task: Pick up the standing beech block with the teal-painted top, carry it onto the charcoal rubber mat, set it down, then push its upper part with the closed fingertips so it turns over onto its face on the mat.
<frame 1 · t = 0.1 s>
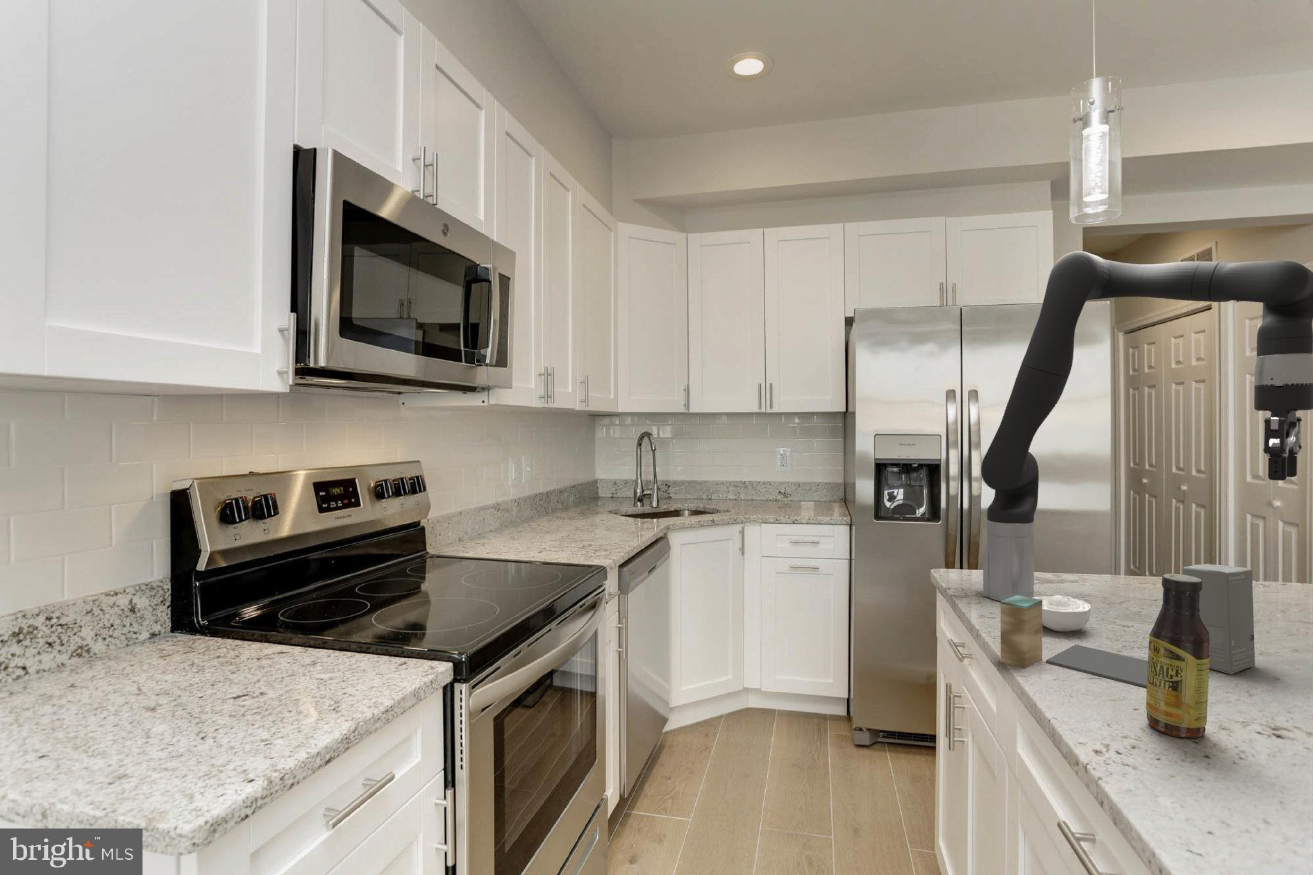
hand: (1282, 478, 116), 29 cm above the countertop, tool pointing down, fingers open, 8 cm apart
block: (1021, 660, 114), on the countertop
skincare box: (1218, 665, 111), on the countertop
mat: (1115, 667, 110), on the countertop
cell model: (1059, 629, 130), on the countertop
sauce bottle: (1176, 731, 88), on the countertop
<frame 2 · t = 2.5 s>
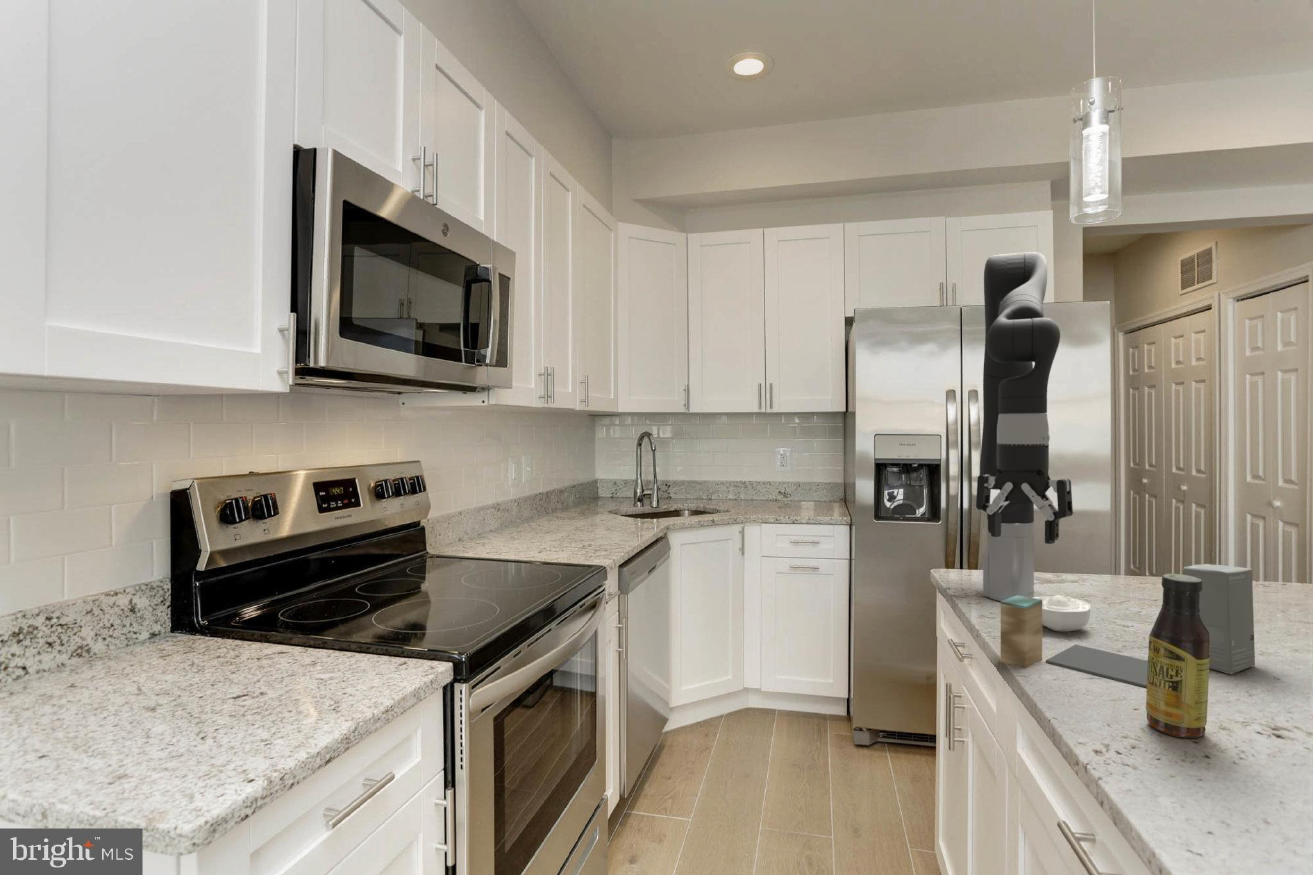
hand: (1022, 539, 113), 20 cm above the countertop, tool pointing down, fingers open, 8 cm apart
nothing on the countertop moved.
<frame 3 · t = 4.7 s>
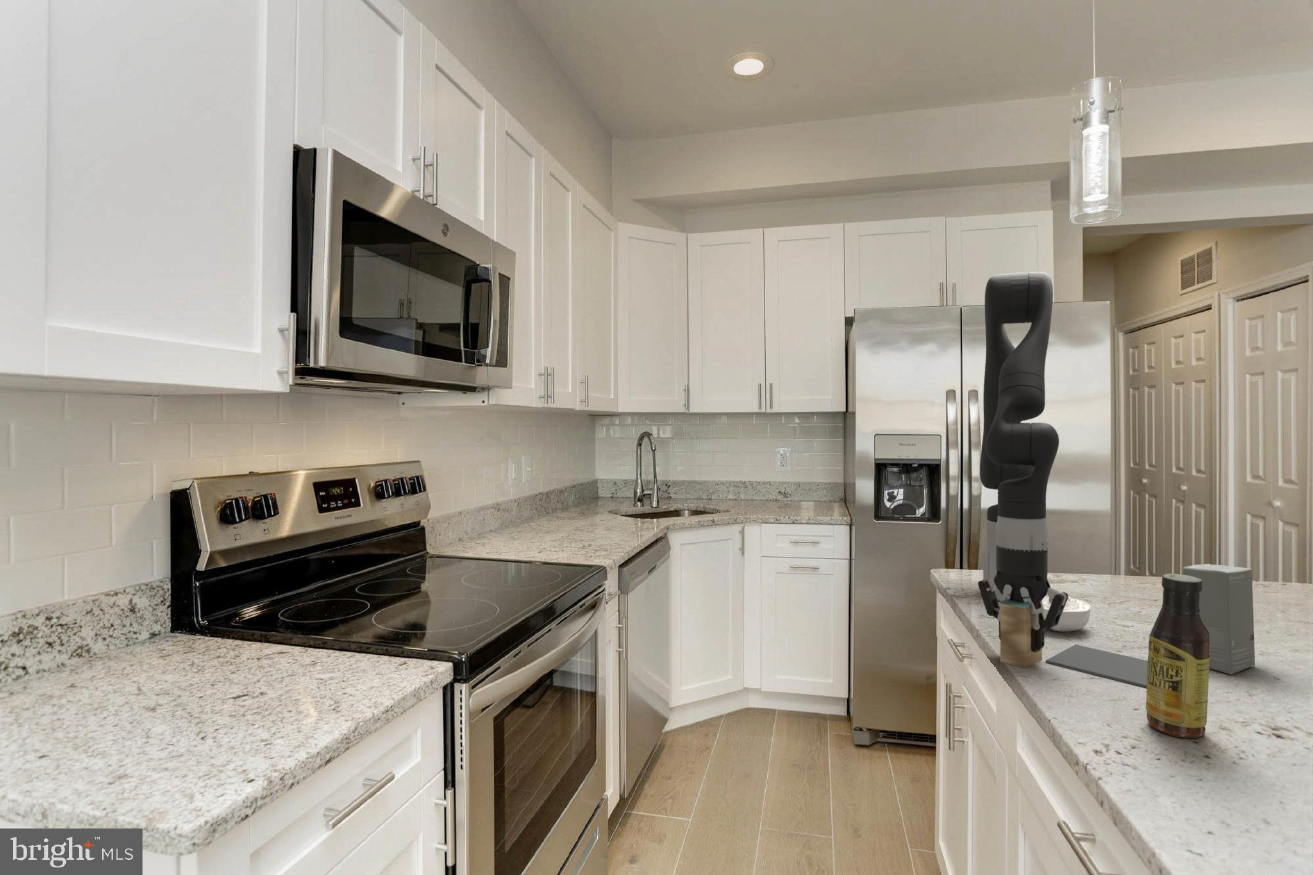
hand: (1021, 646, 114), 2 cm above the countertop, tool pointing down, fingers closed on block, 4 cm apart
block: (1021, 660, 114), on the countertop, touching gripper
everything else where it was.
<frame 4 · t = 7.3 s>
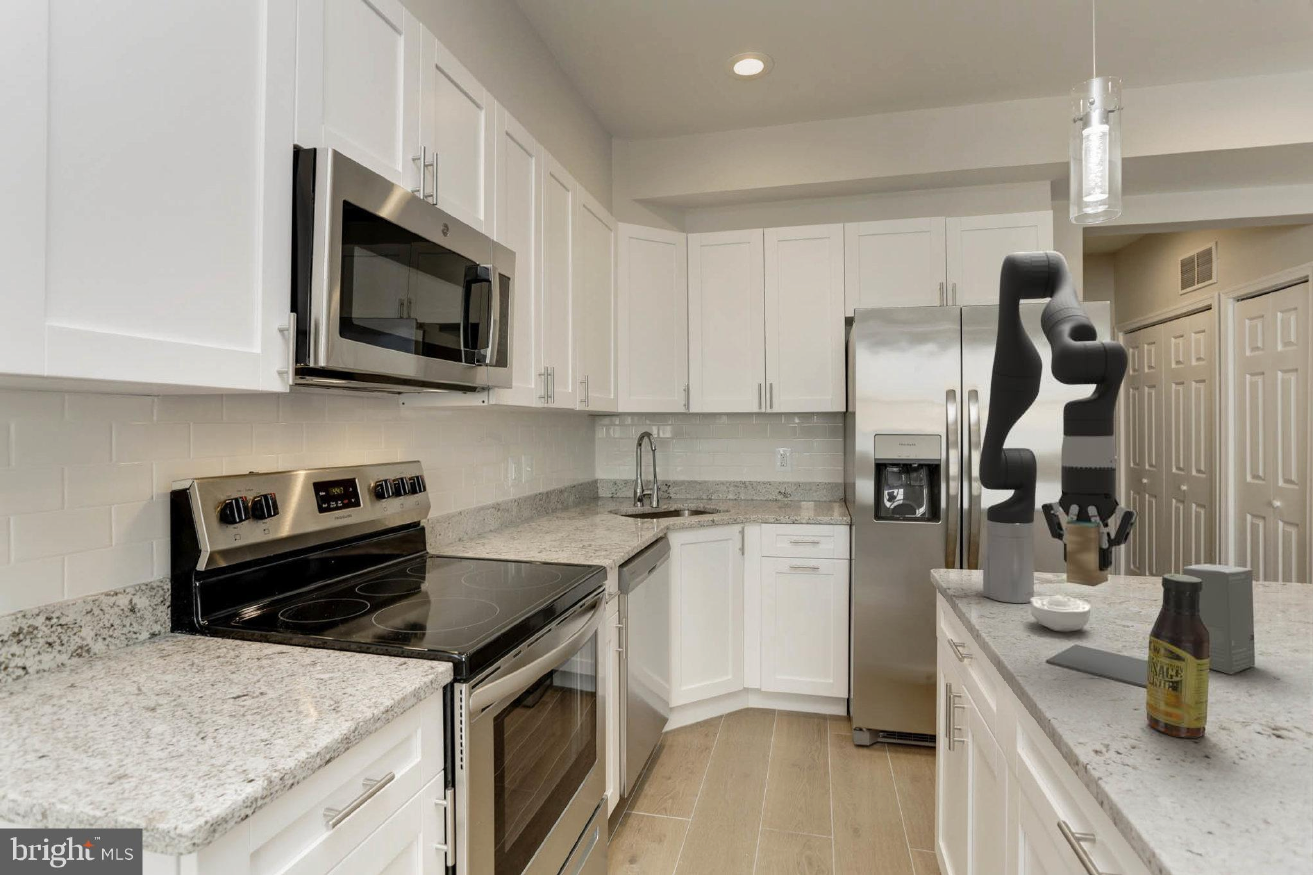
hand: (1087, 567, 113), 15 cm above the countertop, tool pointing down, fingers closed on block, 4 cm apart
block: (1087, 581, 113), point 13 cm above the countertop, touching gripper
everything else where it was.
when the fingers open (3 cm above the countertop, at t = 9.7 s): block stays where it is, resting on mat.
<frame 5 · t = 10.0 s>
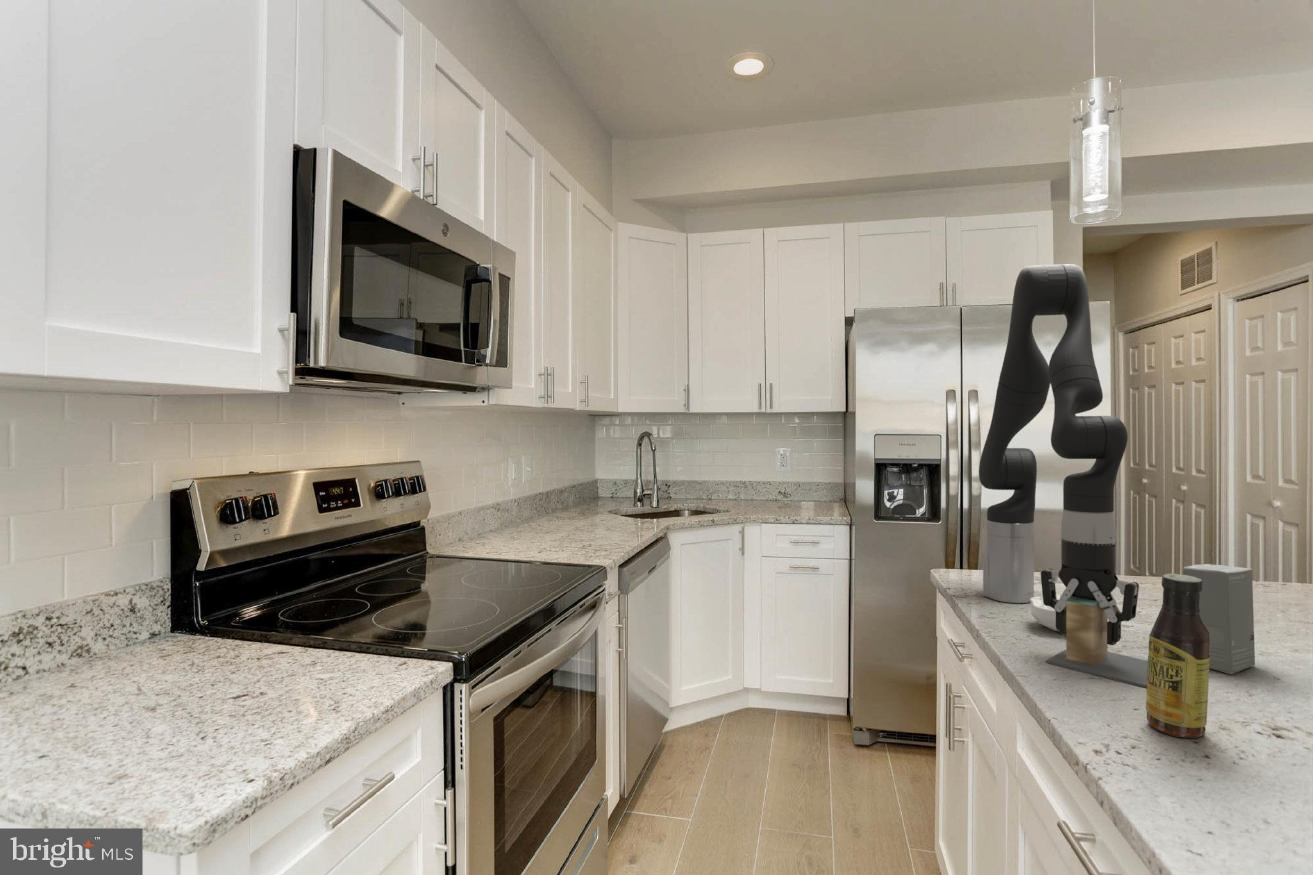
hand: (1087, 638, 113), 4 cm above the countertop, tool pointing down, fingers open, 6 cm apart
block: (1086, 658, 113), resting on mat
everything else where it was.
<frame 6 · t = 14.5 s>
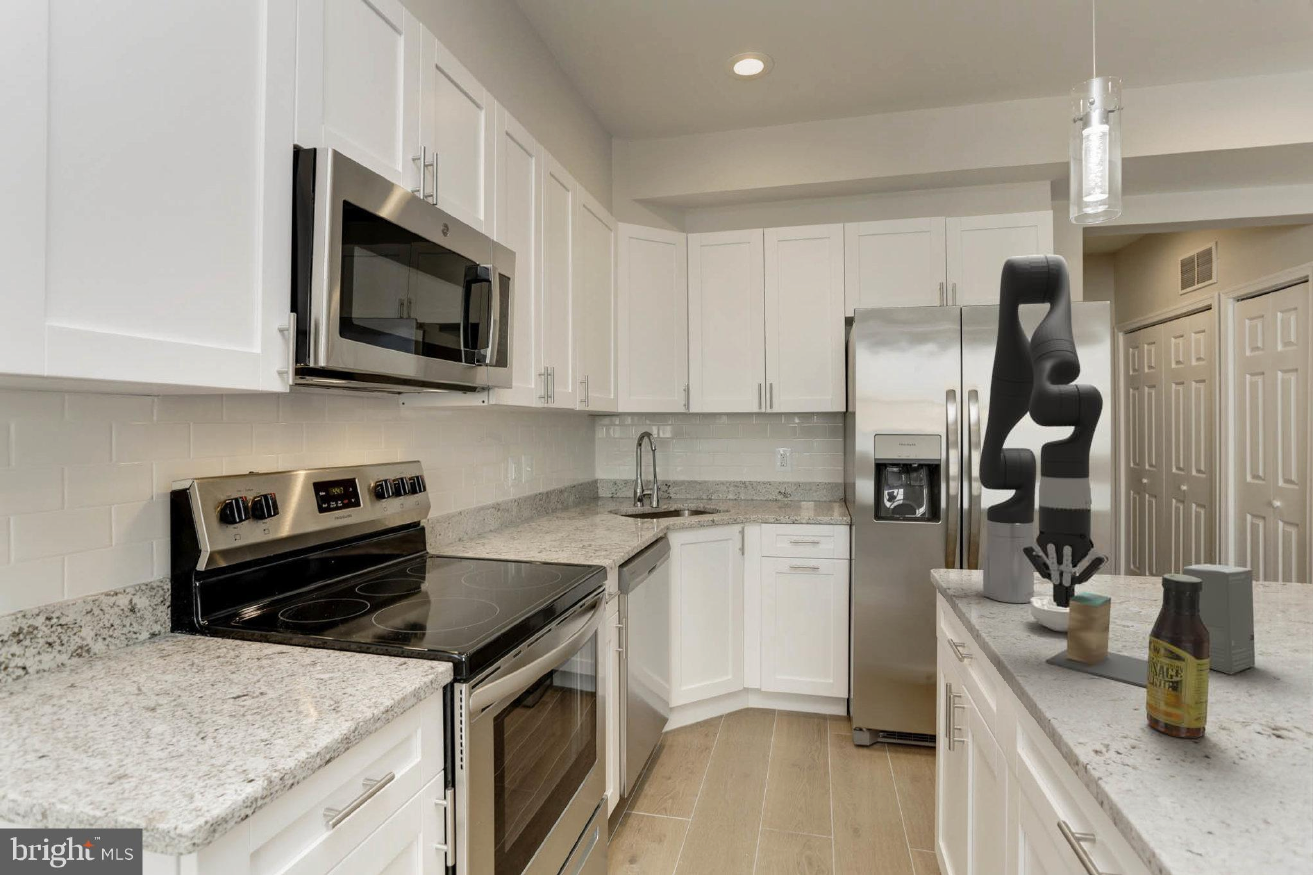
hand: (1063, 606, 115), 8 cm above the countertop, tool pointing down, fingers closed
block: (1086, 657, 113), resting on mat, touching gripper
everything else where it was.
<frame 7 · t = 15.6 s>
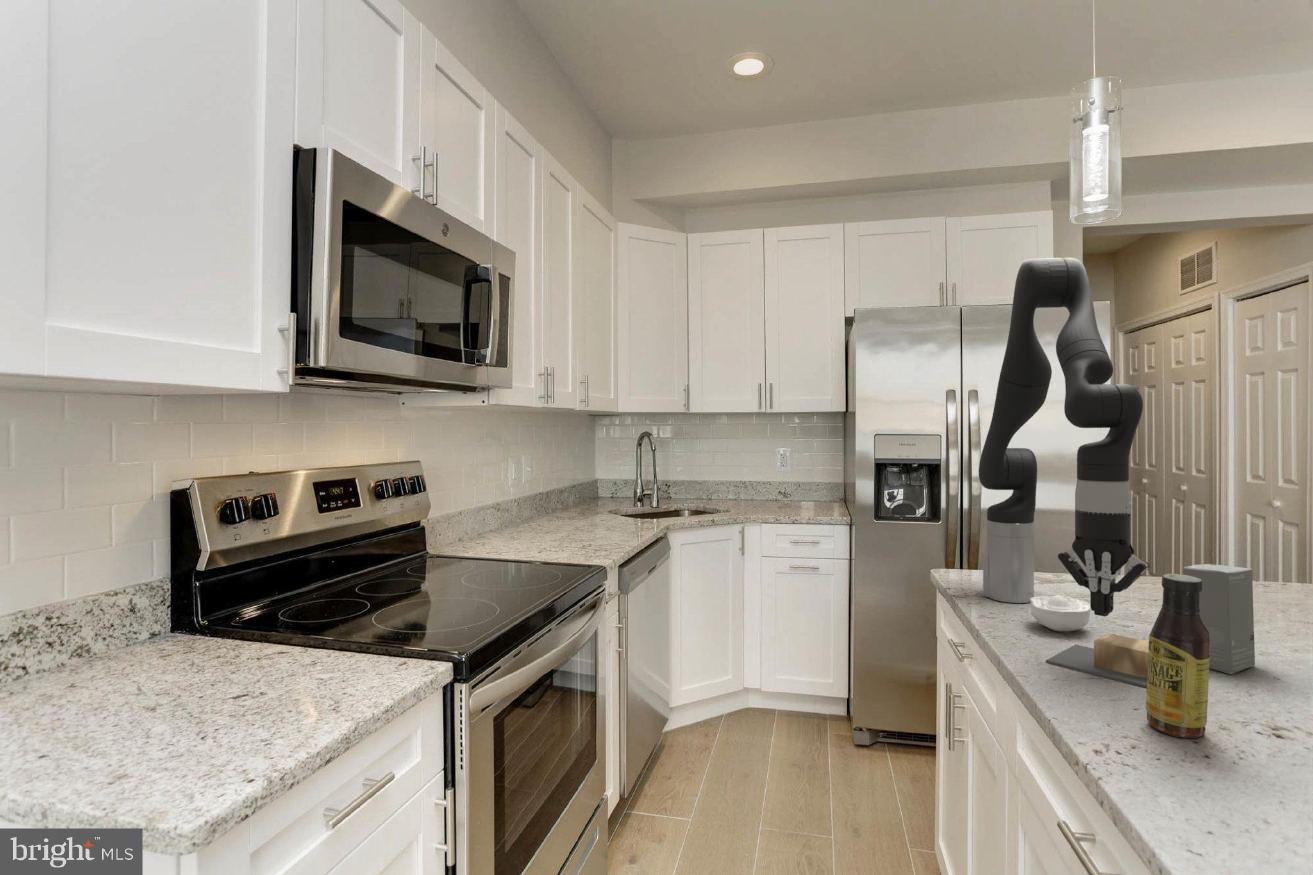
hand: (1102, 614, 111), 8 cm above the countertop, tool pointing down, fingers closed
block: (1101, 649, 112), point 2 cm above the countertop, tilted 90°, touching mat
everything else where it was.
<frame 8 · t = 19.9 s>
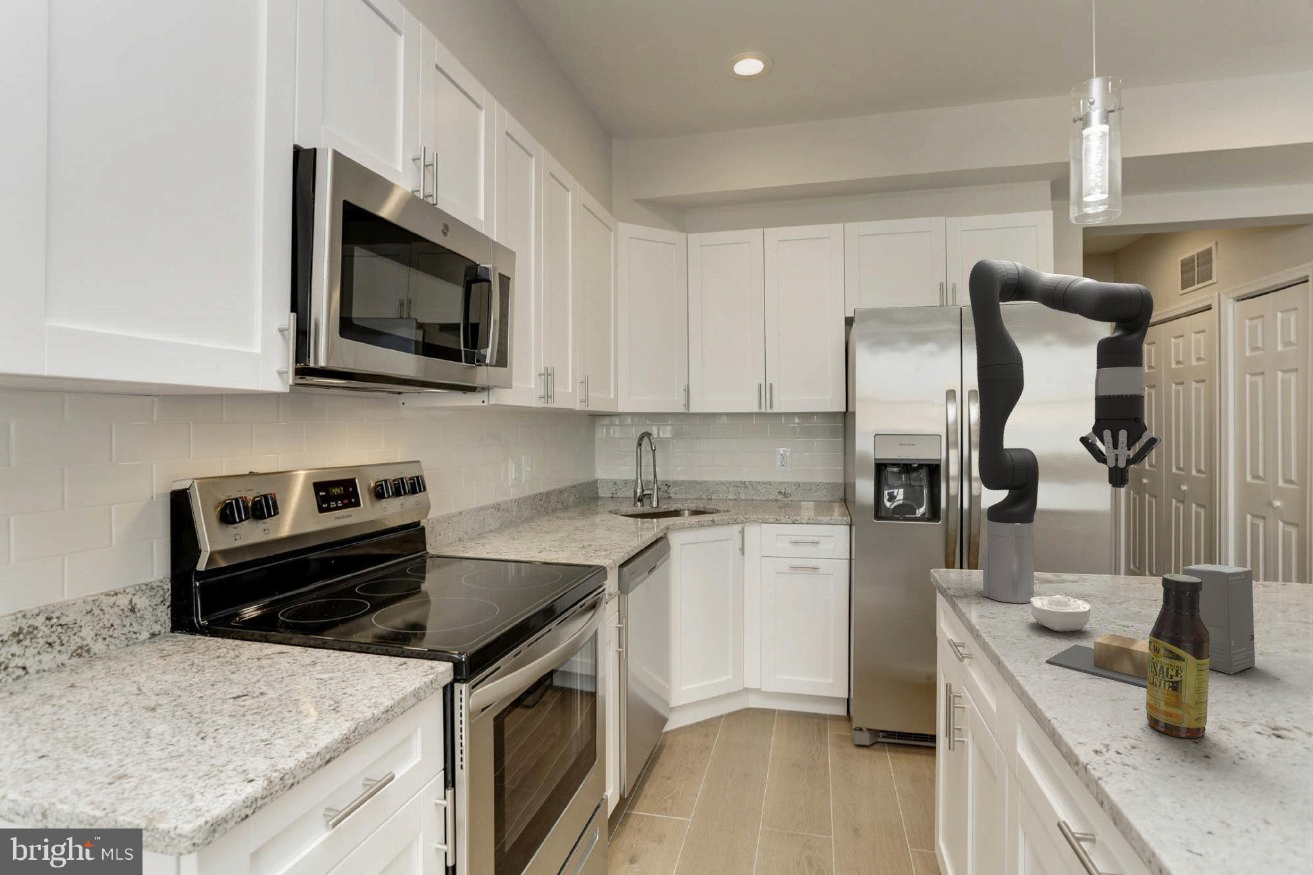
hand: (1118, 487, 126), 27 cm above the countertop, tool pointing down, fingers closed
nothing on the countertop moved.
at the end: block tilted 90°; block inside the target area on the mat (3.1 cm from its centre), point 2.4 cm above the mat's base; the gripper is holding nothing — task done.
